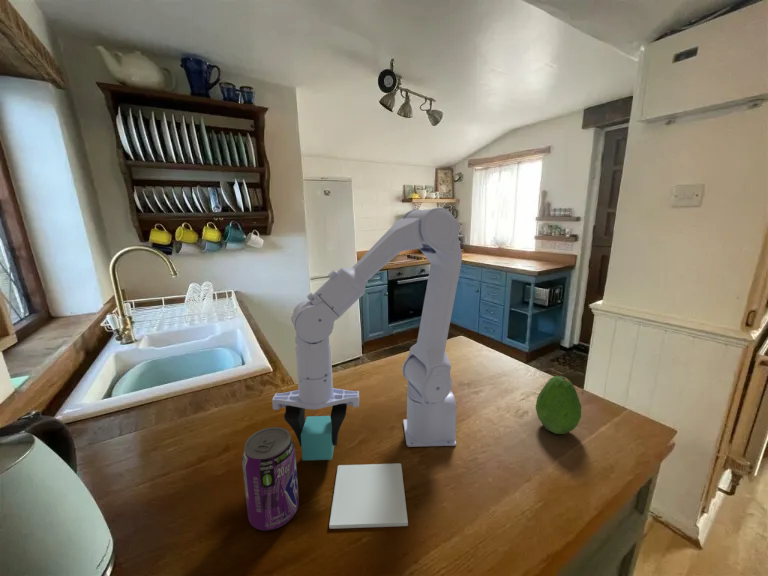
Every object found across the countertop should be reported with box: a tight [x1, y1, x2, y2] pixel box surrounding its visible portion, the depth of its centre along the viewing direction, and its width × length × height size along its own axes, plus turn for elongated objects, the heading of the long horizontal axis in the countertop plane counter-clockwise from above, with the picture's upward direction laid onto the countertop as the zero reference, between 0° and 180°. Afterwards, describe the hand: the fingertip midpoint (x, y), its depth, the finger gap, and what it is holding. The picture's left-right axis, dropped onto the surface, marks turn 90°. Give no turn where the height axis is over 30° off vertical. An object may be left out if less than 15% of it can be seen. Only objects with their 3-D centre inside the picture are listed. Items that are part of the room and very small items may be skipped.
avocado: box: [535, 375, 582, 435], centre depth 63 cm, size 8×8×12 cm
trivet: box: [328, 463, 409, 530], centre depth 49 cm, size 11×11×1 cm
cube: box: [301, 415, 335, 461], centre depth 56 cm, size 5×5×5 cm
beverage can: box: [241, 426, 300, 531], centre depth 45 cm, size 7×7×12 cm
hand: (319, 442), depth 56 cm, fingers closed on cube, 5 cm apart
